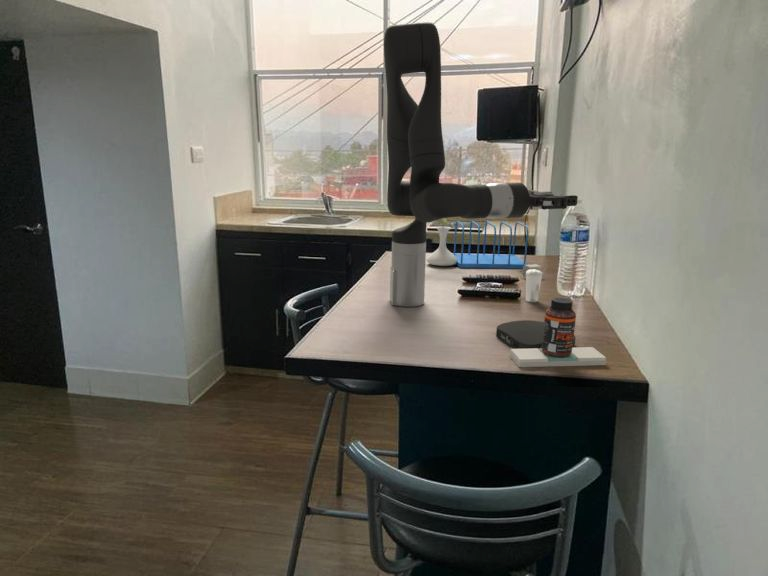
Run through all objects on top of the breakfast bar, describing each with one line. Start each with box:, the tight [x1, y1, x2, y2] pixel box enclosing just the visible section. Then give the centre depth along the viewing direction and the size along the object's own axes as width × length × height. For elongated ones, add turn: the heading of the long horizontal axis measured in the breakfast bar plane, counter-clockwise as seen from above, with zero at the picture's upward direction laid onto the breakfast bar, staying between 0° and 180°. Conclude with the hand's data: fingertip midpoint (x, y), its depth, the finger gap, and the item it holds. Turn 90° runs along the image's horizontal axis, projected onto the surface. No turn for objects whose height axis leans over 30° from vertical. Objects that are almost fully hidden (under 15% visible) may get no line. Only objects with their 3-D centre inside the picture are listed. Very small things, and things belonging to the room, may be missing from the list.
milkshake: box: [525, 267, 547, 303], centre depth 154 cm, size 4×5×10 cm
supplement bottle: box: [542, 297, 577, 357], centre depth 110 cm, size 6×6×11 cm
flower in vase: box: [426, 218, 458, 267], centre depth 196 cm, size 13×11×25 cm
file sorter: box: [452, 220, 529, 269], centre depth 202 cm, size 25×17×15 cm
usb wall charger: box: [517, 263, 542, 278], centre depth 183 cm, size 4×7×4 cm, turn 108°
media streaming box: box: [495, 319, 576, 349], centre depth 123 cm, size 15×15×3 cm
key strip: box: [509, 346, 607, 368], centre depth 112 cm, size 18×6×2 cm, turn 95°
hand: (563, 198), depth 122 cm, fingers open, 8 cm apart
